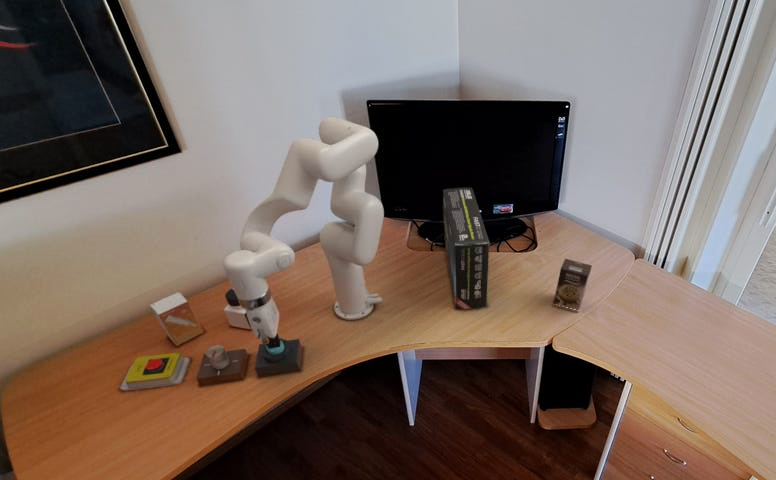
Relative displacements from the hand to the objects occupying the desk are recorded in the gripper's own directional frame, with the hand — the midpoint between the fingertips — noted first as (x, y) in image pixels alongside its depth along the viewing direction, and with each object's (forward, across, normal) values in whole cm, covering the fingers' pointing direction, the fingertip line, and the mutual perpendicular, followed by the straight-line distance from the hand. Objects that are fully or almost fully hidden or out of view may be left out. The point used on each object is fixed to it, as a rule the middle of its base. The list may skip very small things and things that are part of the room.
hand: (274, 345), depth 124 cm
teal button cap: (+2, 0, 0) cm, 2 cm away
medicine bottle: (+7, +20, +12) cm, 24 cm away
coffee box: (+8, +8, -92) cm, 93 cm away
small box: (+7, +17, +29) cm, 34 cm away
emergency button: (+7, +2, +33) cm, 34 cm away
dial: (+4, 0, +15) cm, 16 cm away
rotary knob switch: (+7, 0, +15) cm, 17 cm away
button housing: (+7, 0, 0) cm, 7 cm away
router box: (+8, +29, -60) cm, 67 cm away
